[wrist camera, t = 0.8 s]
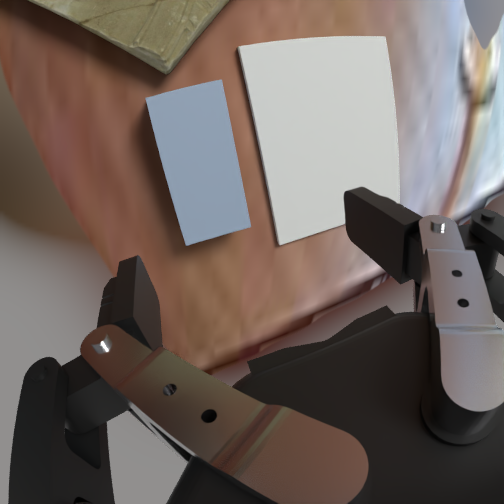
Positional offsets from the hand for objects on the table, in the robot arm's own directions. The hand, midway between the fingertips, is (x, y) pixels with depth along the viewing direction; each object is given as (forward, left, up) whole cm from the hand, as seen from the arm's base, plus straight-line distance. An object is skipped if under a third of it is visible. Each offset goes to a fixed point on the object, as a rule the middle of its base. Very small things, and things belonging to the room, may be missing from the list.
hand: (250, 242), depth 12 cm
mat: (+1, +13, -17) cm, 21 cm away
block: (0, 0, -17) cm, 17 cm away
